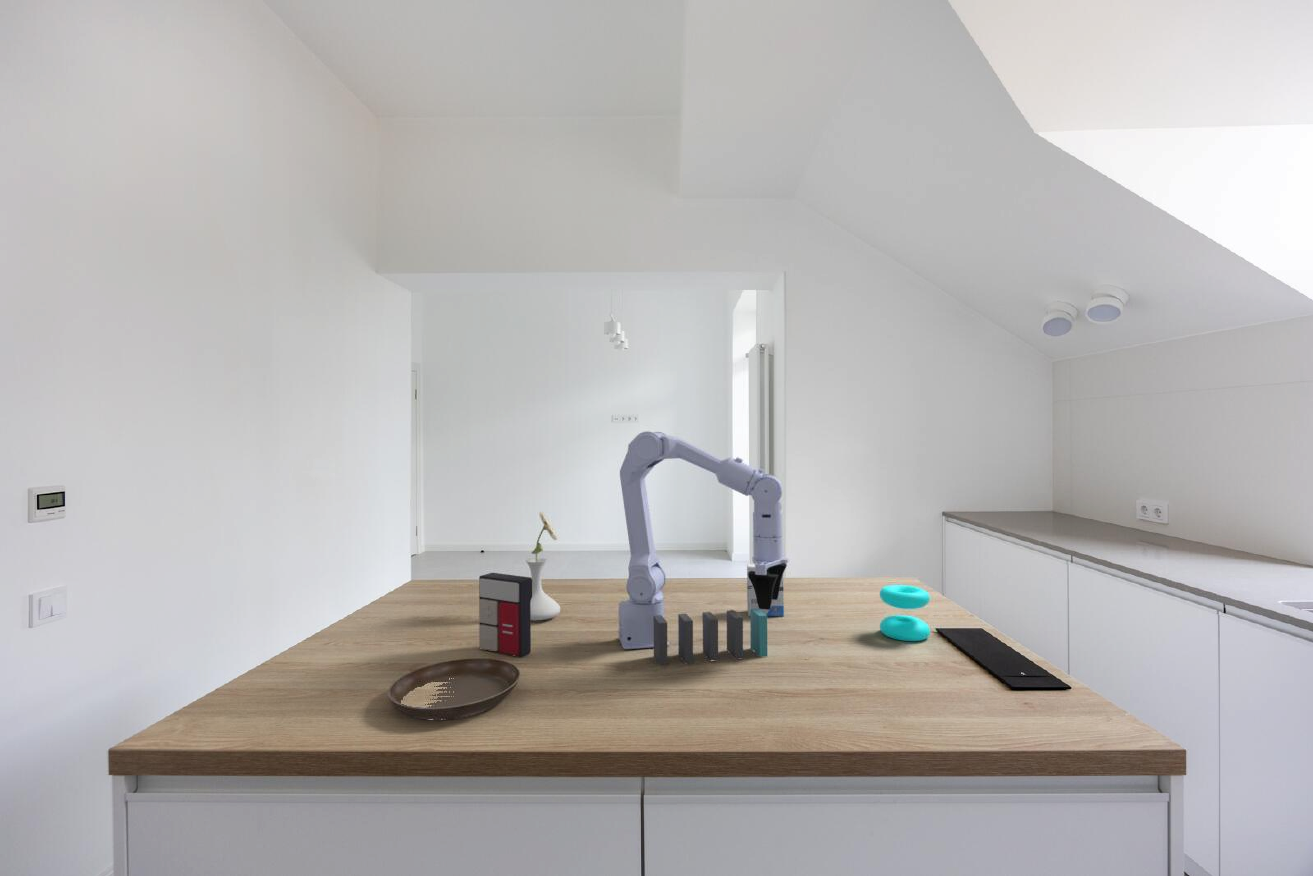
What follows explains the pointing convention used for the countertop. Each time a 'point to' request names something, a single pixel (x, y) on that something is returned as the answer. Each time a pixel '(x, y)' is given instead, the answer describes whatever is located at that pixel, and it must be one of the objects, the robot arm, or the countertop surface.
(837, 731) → the countertop surface
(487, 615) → the toy cabinet
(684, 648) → the black domino
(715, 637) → the domino block
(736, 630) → the black domino
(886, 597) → the donuts
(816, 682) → the countertop surface
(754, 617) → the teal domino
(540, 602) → the flower in vase
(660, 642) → the black domino
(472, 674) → the plant saucer
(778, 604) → the ink box
